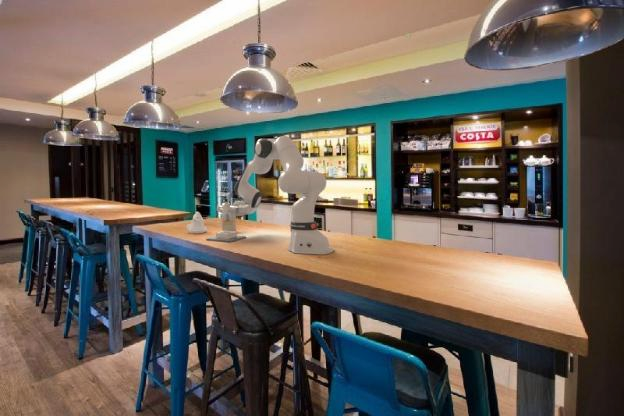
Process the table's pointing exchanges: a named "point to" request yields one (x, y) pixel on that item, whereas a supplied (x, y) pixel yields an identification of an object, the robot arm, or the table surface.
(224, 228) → the supplement box
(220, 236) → the socket board
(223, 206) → the battery cell
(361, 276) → the table surface
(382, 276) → the table surface
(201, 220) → the soft serve ice cream
